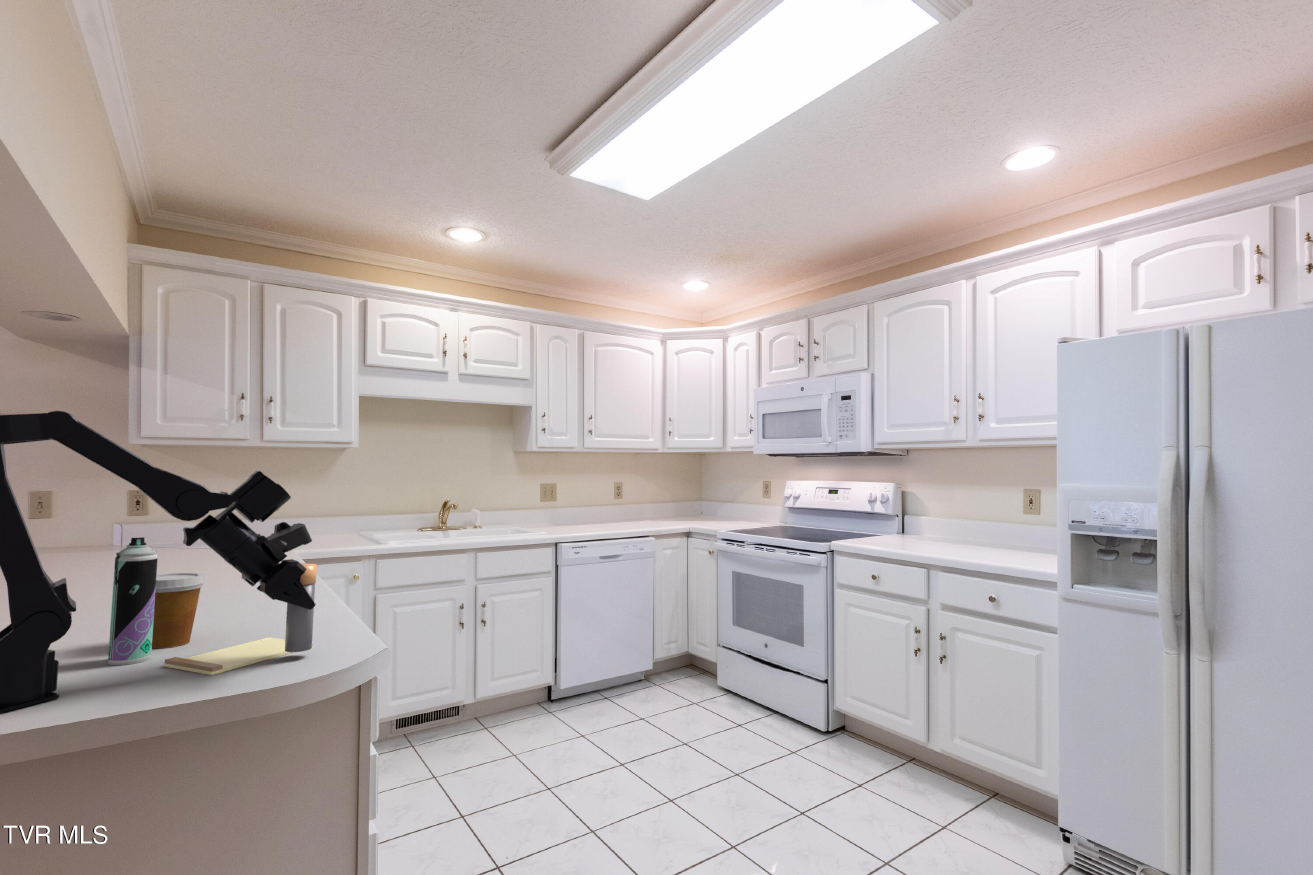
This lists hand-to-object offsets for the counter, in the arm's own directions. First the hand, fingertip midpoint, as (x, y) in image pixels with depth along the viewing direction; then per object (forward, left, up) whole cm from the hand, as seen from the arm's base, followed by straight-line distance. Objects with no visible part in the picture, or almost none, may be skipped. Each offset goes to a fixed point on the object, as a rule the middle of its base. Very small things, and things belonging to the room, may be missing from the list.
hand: (309, 605), depth 109 cm
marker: (-1, +1, -7) cm, 7 cm away
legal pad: (-4, +10, -8) cm, 14 cm away
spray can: (-13, +24, -9) cm, 28 cm away
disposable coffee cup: (-4, +29, -9) cm, 30 cm away
